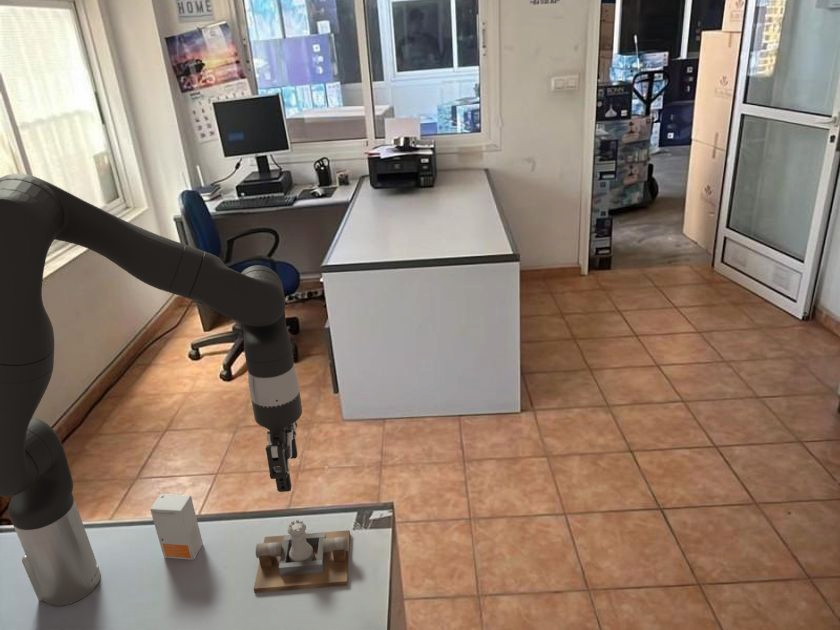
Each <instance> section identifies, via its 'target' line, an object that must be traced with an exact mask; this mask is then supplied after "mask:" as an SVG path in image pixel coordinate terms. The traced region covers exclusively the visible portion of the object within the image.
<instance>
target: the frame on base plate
mask: <svg viewBox="0 0 840 630" xmlns="http://www.w3.org/2000/svg"><path fill="white" fill-rule="evenodd" d="M305 538H306V541H307V543H309V545H311V547H312V549H313V552H314V557H313V559H312V561H304V562H290V560H289V552H290V549H291V547H292V540H291V539H290V534H287V535H284V534H283V535H274V536H273V535H270V536H264V539H263V543H256V545H255V557H256V559H258V560H259V562H258V567H257V572H256V577H255V581H254V585H253V592H254V593H255V594H257V593H268V592H269V593H270V592H280V591H294V590H306V589H319V588H320V589H321V588H329V587H342V586H343V587H345V586H348V584H349V583H348V580H349V565H350V564H349V563H350V562H349V561H350V547H351V545H350V543H351V531H350V529H349V530H348V529H347V530H337V531H334V530H333V531H325V532H324V531H323V532H311V533H306V536H305Z"/></svg>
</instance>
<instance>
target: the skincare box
mask: <svg viewBox="0 0 840 630" xmlns="http://www.w3.org/2000/svg"><path fill="white" fill-rule="evenodd" d="M149 511H150V514H151V516H152V520H153V524H154V528H155V531H156V535H157V537H158V541H159V545H160V548H161V552H162V555H163V558H165V559H180V560H189V561H194V560H195V559H196V557H197V554H199V551H200V549H201V548H202V546H203V539H202V534H201V530H200V527H199V523H198V519H197V515H196V511H195V506H194V503H193V497H192V495H189V494H188V495H186V494H184V495H183V494H177V493H175V494H174V493H173V494H171V493H170V494H169V493H160V494H159V496H158V497H157V499H156V500H155V502H154V503H153V505H151V507H150V510H149Z"/></svg>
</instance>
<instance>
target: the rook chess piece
mask: <svg viewBox="0 0 840 630" xmlns="http://www.w3.org/2000/svg"><path fill="white" fill-rule="evenodd" d="M306 530H307V526H306V524H305V523H304V521H303V520H299V519H296V520H292V521H291V522H290V523H289V524H288V527H287V534H288V535H290V539H291V540H292V547H291V549H290V552H289V560H290V562H304V561H312V559H313V557H314V552H313V549H312V547H311V545H309V543H307V541H306V538H305V536H306V534H307V533H306Z"/></svg>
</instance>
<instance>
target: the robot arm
mask: <svg viewBox="0 0 840 630" xmlns="http://www.w3.org/2000/svg"><path fill="white" fill-rule="evenodd" d="M56 240H57V241H60V242H66V243H70V244H73V245H77V246H80V247H82V248H85V249H88V250H90V251H92V252H94V253H97V254H99V255H101V256H102V257H104V258H106V259H107V260H109V261H110V262H112V263H114V264H115V265H116V266H118V267H119V268H121V269H122V270H124V271H125V272H126V273H128V275H131V276H132V277H134V278H135V279H137V280H139V281H140V282H142V283H143V284H147V285H148V286H150V287H153V288H156V289H157V290H160V291H162V292H166V293H169V294H173V295H177V296H180V297H182V298H186V299H189V300H193V301H197V302H200V303H201V304H204V305H205V306H207V307H208V308H210V309H212V310H214V311H216V312H218V313H220V314H221V315H223V316H225V317H228V318H230V319H231V320H233V321H236V322H238V323H240V324H241V325H242V330H243V351H244V357H245V363H246V368H247V379H248V381H247V382H248V383H247V384H248V390H249V395H250V399H251V400H250V401H251V405H252V410H253V417H254V420H255V422H256V424H258V425H259V426H260V427H262V428H265V429H267V432H266V440H267V442H268V445H266V447H265V453H266V458H267V464H268V465H267V466H268V471H269V477H270V478H269V479H270V480H275V484H276V490H277V492H278V493H284V492H285V493H286V492H291V490H292V487H293V486H292V485H293V484H292V480H291V479H292V478H291V475H290V473H291V472H290V471H291V468H290V460H291V459H296V458H298V447H297V441H296V438H297V428H298V423H297V421H298V420H299V419H300V418H301V416H302V414H303V406H302V400H301V392H300V386H299V384H300V383H299V379H298V378H299V377H298V374H297V370H296V366H295V361H294V355H293V347H292V344H291V343H292V341H291V339H290V334H289V331H288V328H287V320H286V298H285V292H284V286H283V283H282V280H281V278H280V276H279V275H278V274H277V273H276V271H274V270H273V269H272V268H270V267H267V266H265V265H257V264H256V265H252V266H249V267H247V268H245V269H243V270H242V272H240V271H236V270H234V269H233V268H230V267H228V266H227V265H226V264H225V263H224V261H223V260H222V259H221V258H220V257H219V256H217V255H215V254H212V253H210V252H207V251H204V250H202V249H200V248H196V247H194V246H190V245H188V244H184V243H182V242H178V241H175V240H172V239H170V238H168V237H167V238H166V237H164V236H162V235H159V234H156V233H154V232H151V231H149V230H147V229H146V228H145V229H144V228H142V227H139V226H138V225H135V224H133V223H131V222H129V221H126V220H124V219H123V218H120V217H118V216H116V215H114V214H112V213H111V212H108V211H105V210H104V209H102V208H100V207H98V206H95V205H94V204H92V203H89V202H87V201H86V200H83V199H82V198H80V197H78V196H76V195H74V194H72V193H70V192H69V191H67V190H64V189H63V188H61V187H59V186H57V185H55V184H52V183H50V182H49V181H46V180H44V179H42V178H39V177H36V176H33V175H30V174H27V173H26V174H25V173H11V174H6V175H4V176H1V177H0V497H1V498H8V497H9V498H10V497H11V500H10V502H9V504H8V510H7V511H8V517H9V519H10V521H11V524H12V526H13V527H14V530H15V533H16V535H17V537H18V539H19V542H20V544H21V547H22V549H23V551H24V555H23V557H22V559H21V563H22V565H23V567H24V569H25V572H26V574H27V577H28V578H29V582H30V584H31V586H32V589H33V591H34V593H35V595H36V598H37V601H44V602H46V603H47V604H48V605H51V606H57V607H61V606H66V605H71V604H74V603H76V602H78V601H80V600H83V599H84V598H85V597H86V596H88V595H89V594H90V593H91V592H93V590H94V589H95V588H96V587H97V585H98V584H99V581H100V579H101V572H100V568H99V564H98V563H97V559H96V556H95V553H94V551H93V548H92V544H91V542H90V539H89V536H88V534H87V531H86V529H85V525H84V523H83V520H82V517H81V515H80V512H79V510H78V506H77V504H76V501H75V499H74V498H75V497H74V495H73V490H74V481H73V476H72V473H71V470H70V466H69V462H68V460H67V455H66V450H65V449H64V446H63V443H62V441H61V439H60V437H59V435H58V434H57V432H56V431H55V430H54V429H53V428H52V426H50V424H48V423H46V422H45V421H44V420H42V419H39V418H35V417H34V415H35V412H36V410H37V409H38V407H39V405H40V403H41V401H42V399H43V397H44V395H45V393H46V391H47V389H48V387H49V384H50V382H51V378H52V375H53V371H54V366H55V365H54V364H55V333H54V327H53V323H52V321H51V319H50V317H49V315H48V313H47V312H48V311H46V308H45V306H44V302H43V296H42V294H43V293H42V292H43V290H42V289H43V282H44V281H43V280H44V273H45V272H44V270H45V266H46V265H45V264H46V260H47V256H48V253H49V250H50V247H51V246H52V244H53V243H54V241H56Z"/></svg>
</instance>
